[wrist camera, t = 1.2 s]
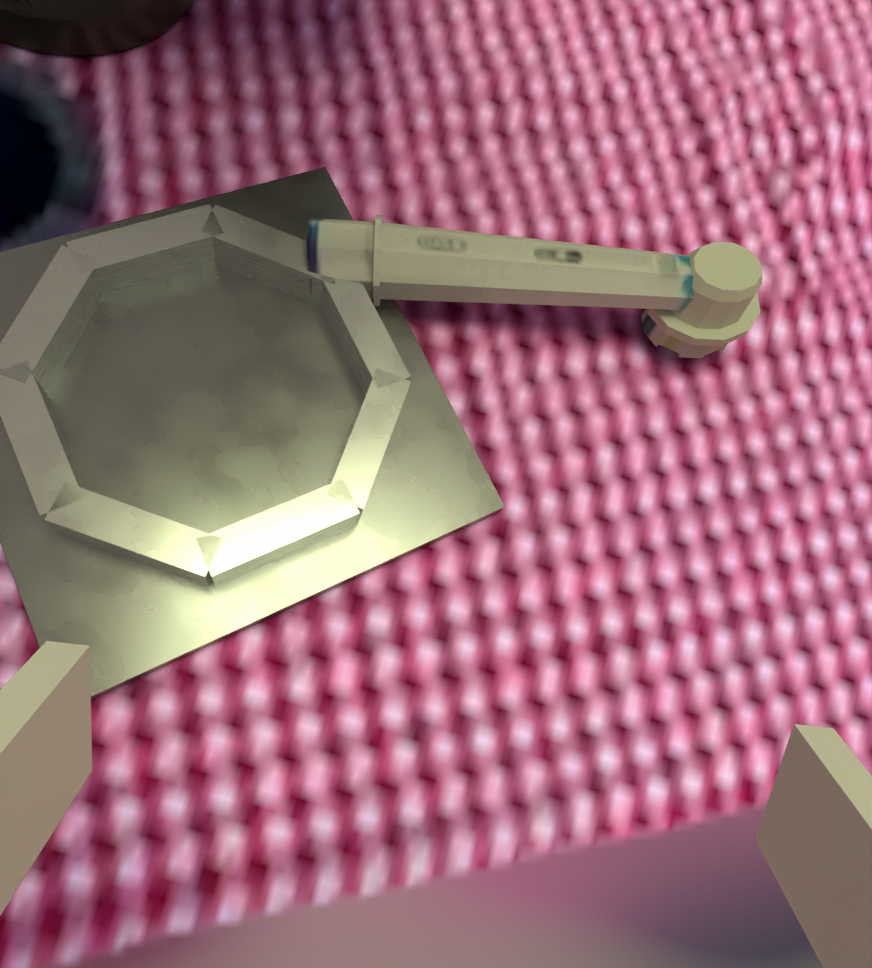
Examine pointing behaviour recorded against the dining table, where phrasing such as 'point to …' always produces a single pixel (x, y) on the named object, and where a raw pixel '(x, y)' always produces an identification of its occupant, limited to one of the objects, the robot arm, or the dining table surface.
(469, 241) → the beige knobbed rod
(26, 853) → the robot arm
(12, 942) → the dining table surface
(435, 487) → the collar
